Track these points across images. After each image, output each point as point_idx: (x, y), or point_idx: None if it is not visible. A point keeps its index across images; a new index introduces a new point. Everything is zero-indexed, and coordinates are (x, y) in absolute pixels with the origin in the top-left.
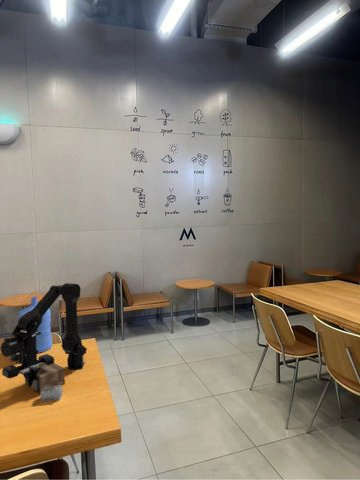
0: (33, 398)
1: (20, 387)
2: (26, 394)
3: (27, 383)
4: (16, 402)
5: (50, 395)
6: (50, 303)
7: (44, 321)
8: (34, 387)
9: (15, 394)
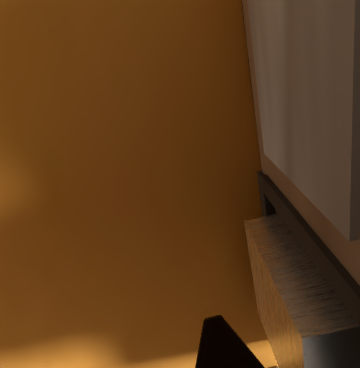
0: (196, 356)
1: (136, 27)
2: (163, 266)
3: (198, 366)
4: (53, 344)
5: None
6: None
7: None
8: (262, 309)
9: (51, 196)
